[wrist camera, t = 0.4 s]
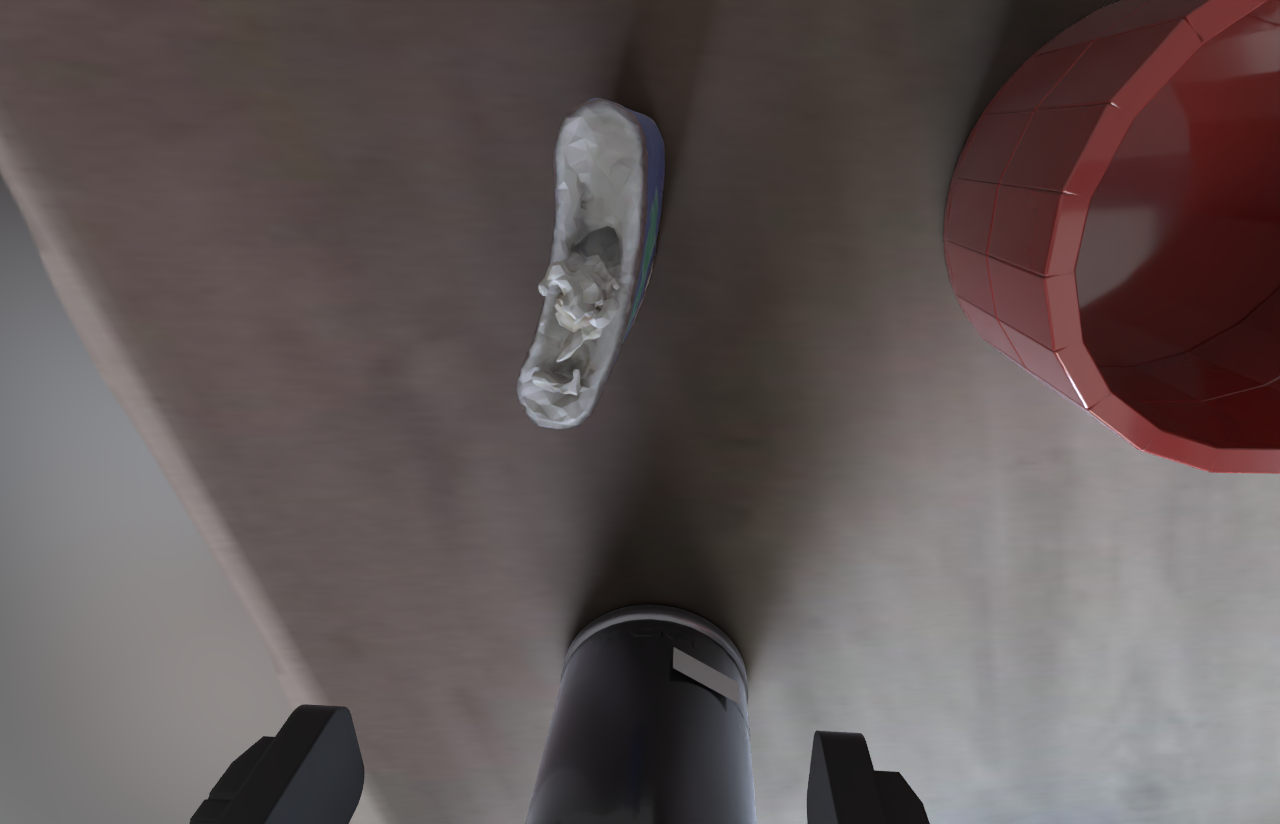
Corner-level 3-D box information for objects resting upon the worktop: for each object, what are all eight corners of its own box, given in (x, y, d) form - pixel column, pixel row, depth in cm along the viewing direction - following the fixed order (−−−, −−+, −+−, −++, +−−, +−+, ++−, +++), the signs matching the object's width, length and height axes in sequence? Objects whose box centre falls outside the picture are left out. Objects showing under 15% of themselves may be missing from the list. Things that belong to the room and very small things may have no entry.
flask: (606, 105, 24) (544, 81, 14) (684, 123, 24) (677, 111, 14) (564, 342, 28) (492, 455, 18) (632, 358, 28) (598, 479, 18)
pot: (1277, 381, 26) (1509, 477, 18) (919, 380, 27) (1004, 470, 20) (1424, -26, 21) (1827, -120, 13) (975, -6, 22) (1117, -82, 14)
